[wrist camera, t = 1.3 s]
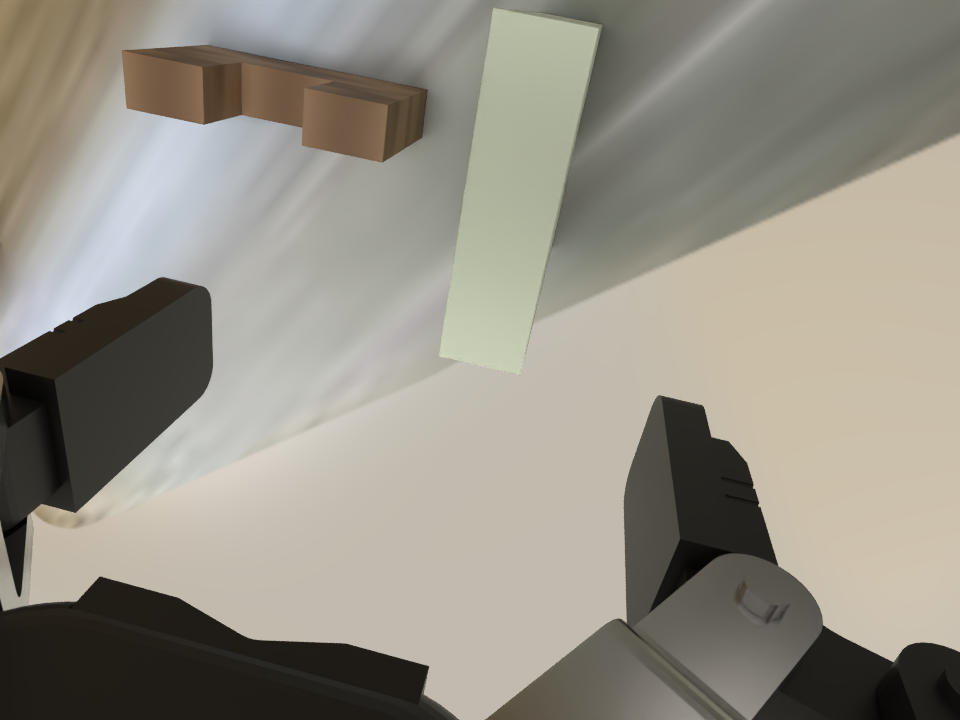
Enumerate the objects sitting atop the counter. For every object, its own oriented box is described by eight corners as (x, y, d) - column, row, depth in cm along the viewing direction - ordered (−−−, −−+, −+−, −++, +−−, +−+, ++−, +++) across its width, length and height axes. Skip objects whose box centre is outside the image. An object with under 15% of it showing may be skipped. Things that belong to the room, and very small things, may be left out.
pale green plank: (540, 12, 32) (493, 7, 19) (602, 24, 32) (598, 28, 18) (498, 236, 37) (438, 356, 24) (551, 248, 37) (520, 374, 24)
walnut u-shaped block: (208, 93, 36) (126, 108, 30) (206, 45, 35) (122, 50, 29) (421, 137, 35) (382, 162, 29) (427, 89, 34) (388, 105, 28)
